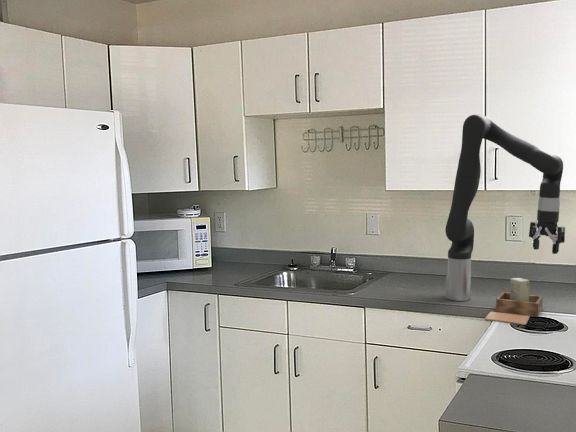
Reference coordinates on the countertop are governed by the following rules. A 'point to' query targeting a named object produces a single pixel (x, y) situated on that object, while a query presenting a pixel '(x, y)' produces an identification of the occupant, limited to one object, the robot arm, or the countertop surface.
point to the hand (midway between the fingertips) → (545, 251)
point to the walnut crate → (519, 305)
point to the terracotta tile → (507, 318)
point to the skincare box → (519, 289)
